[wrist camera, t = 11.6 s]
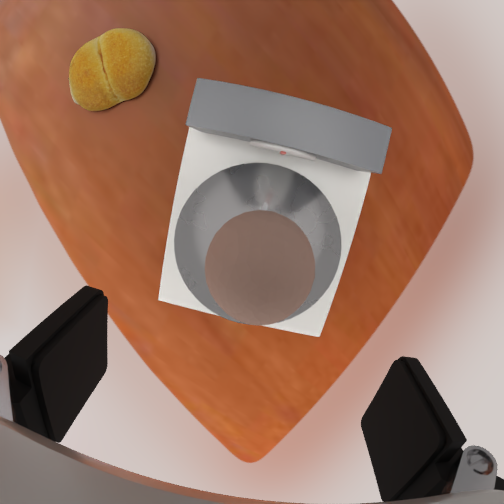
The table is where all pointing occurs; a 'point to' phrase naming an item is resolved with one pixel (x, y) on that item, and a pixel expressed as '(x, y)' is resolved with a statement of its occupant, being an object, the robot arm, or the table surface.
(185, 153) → the kitchen scale
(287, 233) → the egg
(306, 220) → the scale pan
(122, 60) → the bread roll
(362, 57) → the table surface
